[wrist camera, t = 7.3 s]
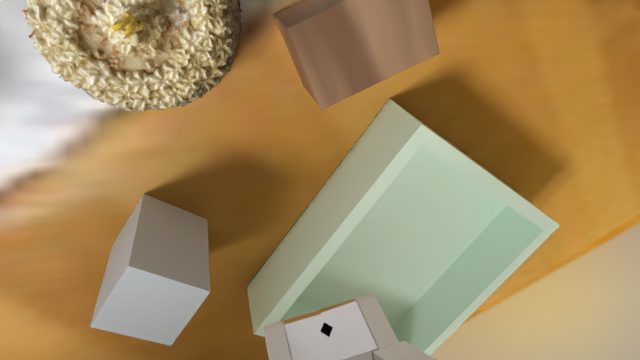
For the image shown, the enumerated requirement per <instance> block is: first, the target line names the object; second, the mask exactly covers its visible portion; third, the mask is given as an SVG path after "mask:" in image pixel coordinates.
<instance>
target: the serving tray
mask: <svg viewBox="0 0 640 360" xmlns="http://www.w3.org/2000/svg"><path fill="white" fill-rule="evenodd" d="M559 226H560V225H559V224H558V223H556V222H555V221H554V220H553V219H551V218H550V217H549V216H547V215H546V214H545V213H544V212H542V211H541V210H540V209H538V208H537V207H536V206H535V205H533V204H532V203H531V202H529V201H528V200H527V199H525V198H524V197H523V196H522V195H520V194H519V193H518V192H516V191H515V190H514V189H512V188H511V187H509V186H508V185H507V184H505V183H504V182H503V181H501V180H500V179H499V178H497V177H496V176H495V175H493V174H492V173H490V172H489V171H488V170H486V169H485V168H484V167H482V166H481V165H480V164H478V163H477V162H475V161H474V160H473V159H471V158H470V157H469V156H467V155H466V154H465V153H463V152H462V151H461V150H459V149H458V148H456V147H455V146H454V145H452V144H451V143H450V142H448V141H447V140H446V139H444V138H443V137H441V136H440V135H439V134H437V133H436V132H435V131H433V130H432V129H431V128H429V127H428V126H427V125H425V124H424V123H422V122H421V121H420V120H418V119H417V118H416V117H414V116H413V115H412V114H410V113H409V112H408V111H406V110H405V109H403V108H402V107H401V106H399V105H398V104H397V103H395V102H394V101H393V100H391V99H389V100H388V101H387V103H386V104H385V105H384V107H383V108H382V109H381V111H380V112H379V113H378V115H377V116H376V117H375V119H374V120H373V121H372V123H371V124H370V125H369V126H368V128H367V129H366V130H365V132H364V133H363V134H362V136H361V137H360V138H359V140H358V141H357V142H356V144H355V145H354V146H353V148H352V149H351V150H350V152H349V153H348V154H347V155H346V157H345V158H344V159H343V161H342V162H341V163H340V165H339V166H338V167H337V169H336V170H335V171H334V173H333V174H332V175H331V177H330V178H329V179H328V181H327V182H326V183H325V185H324V186H323V187H322V188H321V190H320V191H319V192H318V194H317V195H316V196H315V198H314V199H313V200H312V202H311V203H310V204H309V206H308V207H307V208H306V210H305V211H304V212H303V214H302V215H301V216H300V217H299V219H298V220H297V221H296V223H295V224H294V225H293V227H292V228H291V229H290V231H289V232H288V233H287V235H286V236H285V237H284V239H283V240H282V241H281V243H280V244H279V245H278V246H277V248H276V249H275V250H274V252H273V253H272V254H271V256H270V257H269V258H268V260H267V261H266V262H265V264H264V265H263V266H262V268H261V269H260V270H259V272H258V273H257V274H256V276H255V277H254V278H253V279H252V281H251V282H250V283H249V285H248V286H247V292H248V299H249V306H250V313H251V320H252V327H253V333H254V334H255V335H259V336H263V337H265V335H264V326H265V325H269V324H272V323H276V322H279V321H283V320H286V319H290V318H293V317H297V316H300V315H304V314H308V313H311V312H315V311H319V310H320V309H323V308H326V307H329V306H332V305H335V304H339V303H342V302H345V301H348V300H351V299H356V298H359V297H362V296H365V295H369V294H374V295H375V296H376V298H377V300H378V302H379V304H380V306H381V308H382V310H383V312H384V314H385V316H386V318H387V319H388V321H389V323H390V325H391V327H392V329H393V331H394V333H395V335H396V337H397V339H398V341H399V342H402V341H406V342H408V343H409V344H411V345H412V346H414V347H416V348H417V349H419V350H421V351H422V352H424V353H426V354H427V355H429V356H430V355H431V354H432V353H433V352H434V351H435V350H436V349H437V348H438V347H439V346H440V345H441V344H442V343H443V342H444V341H445V340H446V339H447V338H448V337H449V336H450V335H451V334H452V333H453V332H454V331H455V330H456V329H457V328H458V327H459V326H460V325H461V324H462V323H463V322H464V321H465V320H466V319H467V318H468V317H469V316H470V315H471V314H472V313H473V312H474V311H475V310H476V309H477V308H478V307H479V306H480V305H481V304H482V303H483V302H484V301H485V300H486V299H487V298H488V297H489V296H490V295H491V294H492V293H493V292H494V291H495V290H496V289H497V288H498V287H499V286H500V285H501V284H502V283H503V282H504V281H505V280H506V279H507V278H508V277H509V276H510V275H511V274H512V273H513V272H514V271H515V270H516V269H517V268H518V267H519V266H520V265H521V264H522V263H523V262H524V261H525V260H526V259H527V258H528V257H529V256H530V255H531V254H532V253H533V252H534V251H535V250H536V249H537V248H538V247H539V246H540V245H541V244H542V243H543V242H544V241H545V240H546V239H547V238H548V237H549V236H550V235H551V234H552V233H553V232H554V231H555V230H556V229H557V228H558V227H559ZM283 323H284V321H283Z"/></svg>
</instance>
